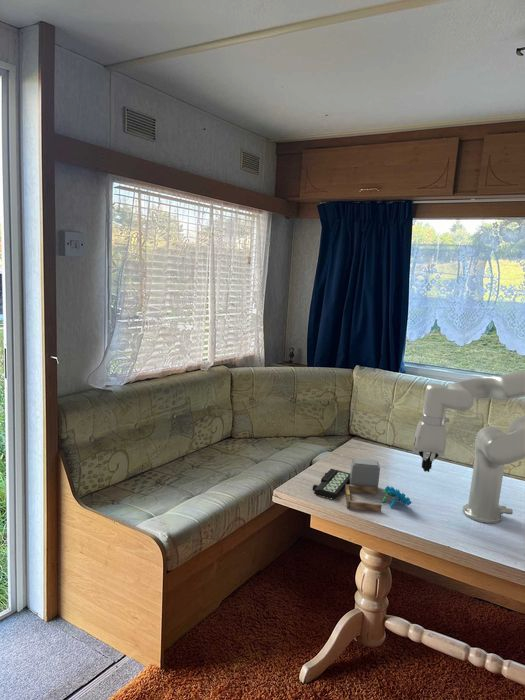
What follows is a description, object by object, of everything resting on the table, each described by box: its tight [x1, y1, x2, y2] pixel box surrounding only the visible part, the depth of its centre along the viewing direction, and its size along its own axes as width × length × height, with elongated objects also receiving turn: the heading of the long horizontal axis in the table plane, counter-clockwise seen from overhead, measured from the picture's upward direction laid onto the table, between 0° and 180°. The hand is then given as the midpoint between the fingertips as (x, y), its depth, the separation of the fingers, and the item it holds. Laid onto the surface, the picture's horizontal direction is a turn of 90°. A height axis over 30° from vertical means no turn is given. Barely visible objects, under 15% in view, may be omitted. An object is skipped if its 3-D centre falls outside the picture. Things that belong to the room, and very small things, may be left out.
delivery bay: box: [344, 484, 382, 513], centre depth 185 cm, size 12×14×3 cm
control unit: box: [348, 457, 381, 493], centre depth 195 cm, size 10×7×11 cm
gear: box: [381, 485, 413, 509], centre depth 182 cm, size 11×6×10 cm
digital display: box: [312, 468, 350, 500], centre depth 196 cm, size 21×3×10 cm
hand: (425, 470), depth 181 cm, fingers closed
